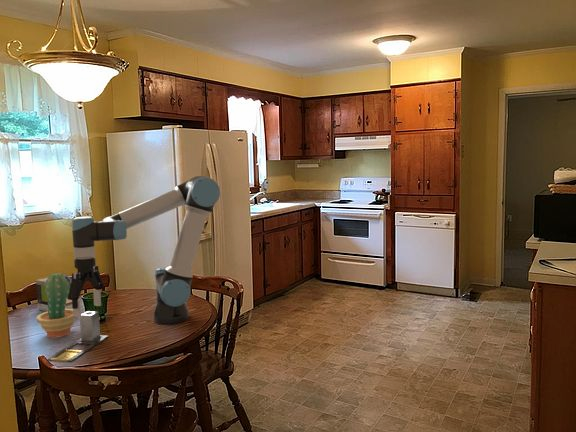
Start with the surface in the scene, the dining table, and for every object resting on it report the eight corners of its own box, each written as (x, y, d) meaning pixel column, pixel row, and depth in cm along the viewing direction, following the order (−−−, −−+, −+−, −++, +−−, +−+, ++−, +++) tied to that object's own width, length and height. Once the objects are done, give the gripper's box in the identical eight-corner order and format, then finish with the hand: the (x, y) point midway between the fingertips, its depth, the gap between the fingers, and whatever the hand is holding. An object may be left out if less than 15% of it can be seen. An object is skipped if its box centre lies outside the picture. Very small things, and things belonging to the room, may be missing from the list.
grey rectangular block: (100, 338, 193) (98, 311, 191) (93, 343, 188) (91, 315, 187) (89, 337, 194) (86, 310, 192) (81, 342, 189) (79, 314, 187)
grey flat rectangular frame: (108, 336, 194) (108, 335, 194) (71, 361, 171) (71, 360, 171) (86, 335, 196) (86, 334, 196) (47, 360, 173) (47, 359, 173)
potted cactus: (82, 334, 197) (77, 274, 194) (40, 343, 189) (34, 280, 186) (75, 324, 210) (71, 267, 207) (35, 331, 202) (30, 273, 199)
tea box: (75, 308, 232) (73, 278, 230) (55, 314, 224) (53, 283, 222) (57, 304, 240) (54, 275, 238) (37, 310, 232) (34, 279, 230)
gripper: (94, 250, 200) (97, 301, 202) (54, 263, 175) (58, 320, 178) (111, 251, 198) (113, 301, 201) (73, 264, 174) (77, 321, 176)
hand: (87, 310), depth 189 cm, fingers open, 13 cm apart
